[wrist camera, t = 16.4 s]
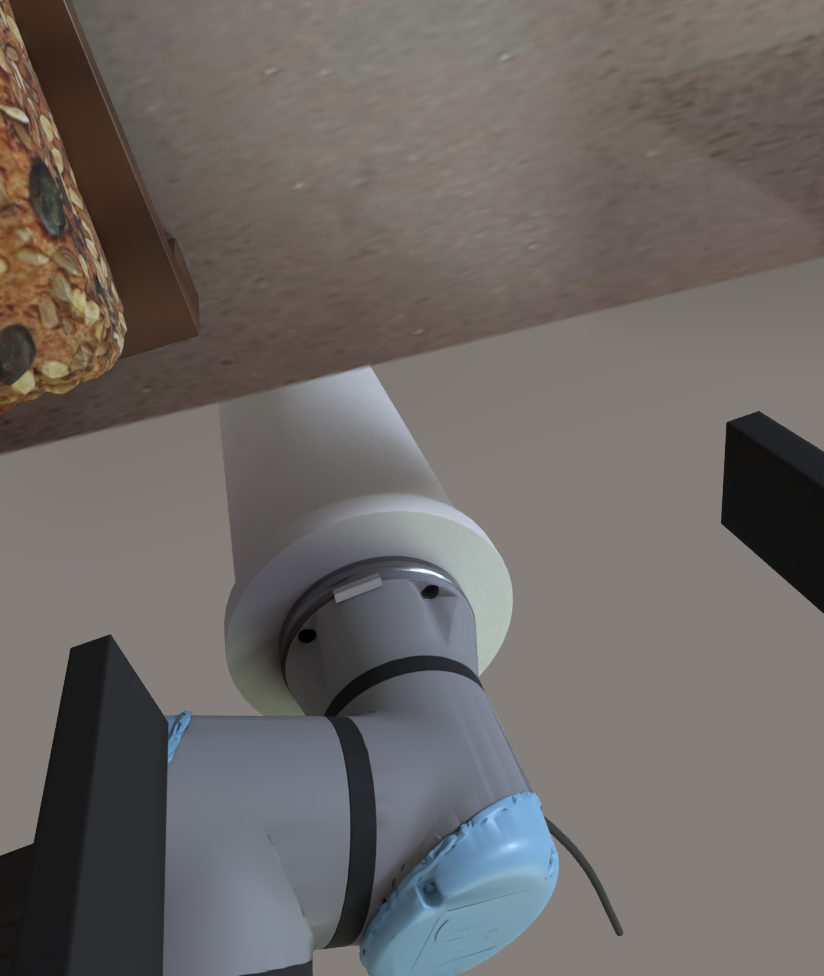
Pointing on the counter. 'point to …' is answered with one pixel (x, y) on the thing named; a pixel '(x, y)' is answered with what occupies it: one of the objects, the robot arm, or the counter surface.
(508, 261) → the counter surface
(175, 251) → the shelf
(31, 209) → the bread
